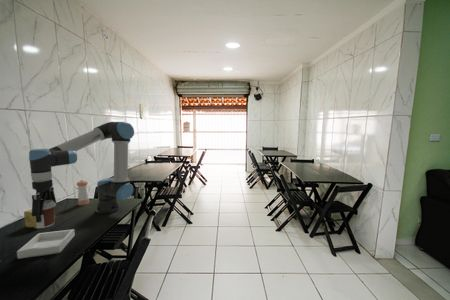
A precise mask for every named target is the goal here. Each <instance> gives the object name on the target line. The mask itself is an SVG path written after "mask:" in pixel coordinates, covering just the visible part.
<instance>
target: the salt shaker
mask: <svg viewBox="0 0 450 300" xmlns="http://www.w3.org/2000/svg"><path fill="white" fill-rule="evenodd" d="M87 185H88V181H87V180H84V179H82V180H80V181H78V182H77V183H76V186H77V187H78V189H77V190H78V193H77V197H78V200H77V205H78V206H86V205H89V204H90V198H89V192H88V186H87Z"/></svg>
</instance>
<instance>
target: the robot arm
mask: <svg viewBox="0 0 450 300" xmlns="http://www.w3.org/2000/svg"><path fill="white" fill-rule="evenodd" d="M134 135H135V130H134V127H133V125H132V124H131V123H130V122H127V121H108V122H106V123H102V124H101V125H99V126H96V127H94V128H93V130H90V131H88V132H86V133H84V134H82V135H78V136H77V137H74V138H72V139H70V140H67V141H65V142H62V143H60V144H58V145H55V146H53V147H51V148H34V149H30V150H29V151H28V153H29V154H28V161H29V168H30V176H31V181H32V182H31V187H32V189H33V190H34V191H35V194H32V195H31V201H32V202H31V209H32V216H36V225H37V228H39V229H45V228H44V227H45V226H44V216H43V214H42V211H43V205H44V201H45V200H53V202H55V203H56V204H57V200H56V195H55V190H54V186H53V185H54V184H53V183H54V182H53V179H52V178H53V174H52V173H53V172H52V167H58V166H66V165H67V166H68V165H71V164H75V163H77V161H78V154H77V152H78V151H80V150H82V149H85V148H86V147H88V146H90V145H92V144H95V143H97V142H99V141H105V140H107V139H111V142H112V143H113V145H114V146H113V177H111V178H110V177H109V178H103V179H100V180H98V181H97V183H96V184H97V185H96V186H97V198H98V201H97V205H96V209H95V211H96V213H97V214H99V215H106V214H113V213H115V212H117V211H119V210H120V208H121V205H120V202H119V200H121V201H126V200H128V199H129V198H130V197H131V196H132V195H133V192H134V186H133V184H131V179H130V178H129V177H128V172H129V171H128V167H129V165H128V164H129V163H128V162H129V160H128V159H129V143H131V139H132V138H133V137H134ZM37 228H36V229H37Z"/></svg>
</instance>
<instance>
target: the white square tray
mask: <svg viewBox="0 0 450 300" xmlns="http://www.w3.org/2000/svg"><path fill="white" fill-rule="evenodd" d="M75 232H76V231H75V229H74V228H73V229H64V230H57V231H47V232H39V233H37V234H36V235H35V236H33V237H32V238H31V239H30V240H29V241H28V242H27V243H25V244H24V245H23V246H22V247H20V248H19V249H18V250H17V251H16V257H17V259H18V260H19V259H20V260H21V259H26V258H33V257H40V256H48V255H53V254H56V255H57V254H60V253H61V252H62V251H63V250H64V249H65V247H67V246H68V244H69V243H70V242H71V241H72V239H73V238H74V237H75V236H76V234H75Z"/></svg>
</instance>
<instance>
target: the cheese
mask: <svg viewBox="0 0 450 300" xmlns="http://www.w3.org/2000/svg"><path fill="white" fill-rule="evenodd" d="M23 214H24V215H23V216H24V223H25V227H26V228H34V229H40V228H37V225H36V216H32V208H31V209H29V210H26V211H24V212H23Z"/></svg>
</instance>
